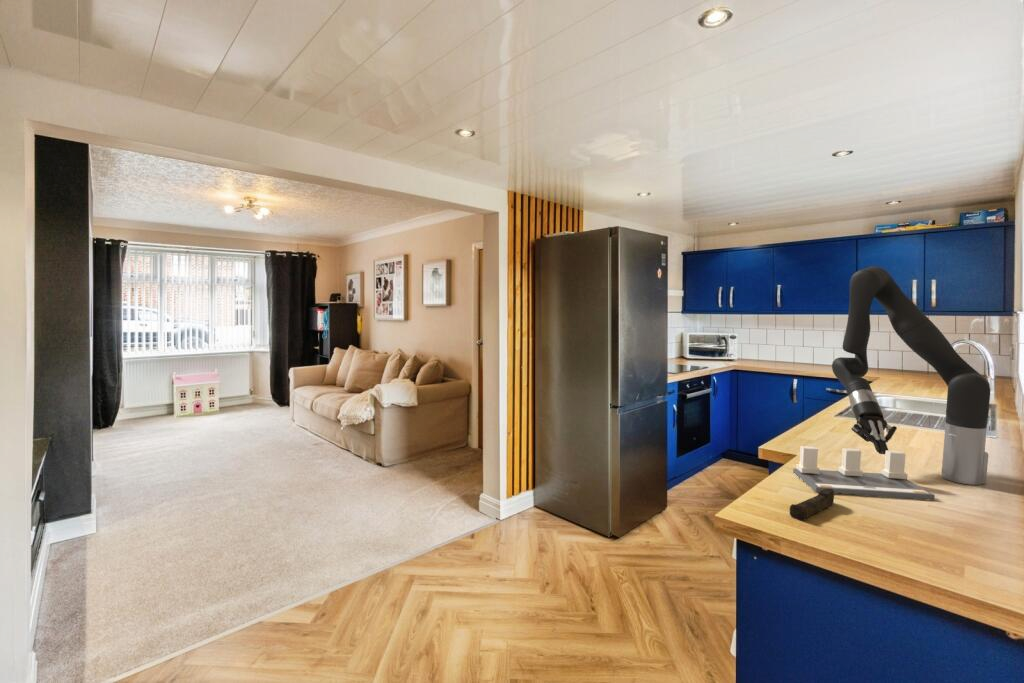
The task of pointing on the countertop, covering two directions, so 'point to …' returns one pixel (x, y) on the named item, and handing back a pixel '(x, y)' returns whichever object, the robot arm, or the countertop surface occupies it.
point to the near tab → (894, 465)
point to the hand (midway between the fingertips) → (883, 452)
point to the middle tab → (850, 462)
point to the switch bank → (864, 484)
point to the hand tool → (812, 505)
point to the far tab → (808, 460)
